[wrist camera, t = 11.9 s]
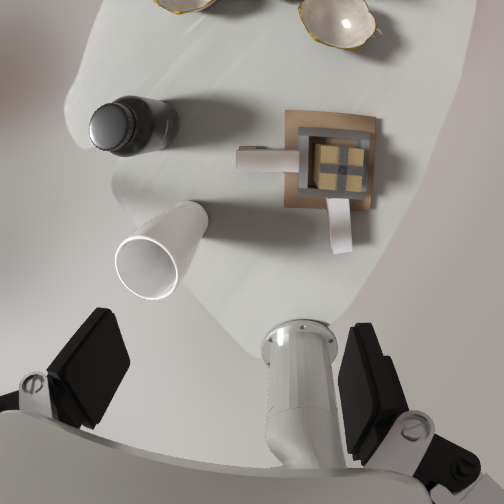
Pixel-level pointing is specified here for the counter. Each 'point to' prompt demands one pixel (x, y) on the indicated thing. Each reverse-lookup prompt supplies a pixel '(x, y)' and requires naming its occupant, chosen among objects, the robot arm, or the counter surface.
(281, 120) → the counter surface
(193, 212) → the drinking glass
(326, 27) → the chinaware
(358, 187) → the block
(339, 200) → the shaft rig
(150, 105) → the supplement bottle
